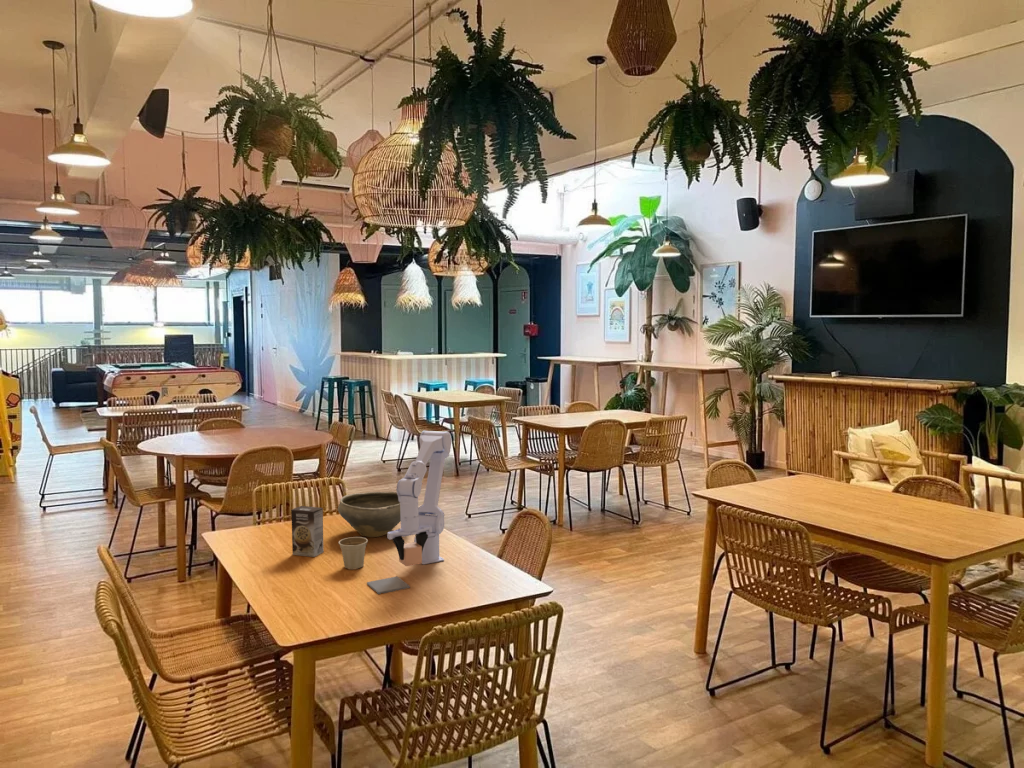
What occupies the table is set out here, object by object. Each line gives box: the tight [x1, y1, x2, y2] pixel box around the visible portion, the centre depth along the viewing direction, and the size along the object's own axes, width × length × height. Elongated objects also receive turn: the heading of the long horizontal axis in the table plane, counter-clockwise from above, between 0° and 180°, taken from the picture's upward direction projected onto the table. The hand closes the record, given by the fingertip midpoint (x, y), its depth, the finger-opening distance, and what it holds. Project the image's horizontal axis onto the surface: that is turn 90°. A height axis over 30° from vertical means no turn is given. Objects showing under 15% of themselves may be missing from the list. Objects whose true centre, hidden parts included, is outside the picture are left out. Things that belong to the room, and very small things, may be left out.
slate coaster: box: [366, 576, 410, 595], centre depth 224 cm, size 10×10×1 cm
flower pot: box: [338, 536, 369, 570], centre depth 242 cm, size 9×9×9 cm
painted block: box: [398, 541, 422, 567], centre depth 234 cm, size 6×6×6 cm
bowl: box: [337, 491, 401, 538], centre depth 280 cm, size 28×28×14 cm
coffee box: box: [290, 505, 324, 558], centre depth 256 cm, size 9×6×16 cm
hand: (410, 557), depth 234 cm, fingers closed on painted block, 5 cm apart
